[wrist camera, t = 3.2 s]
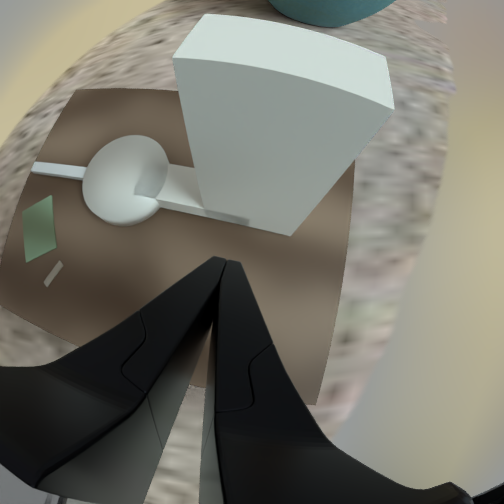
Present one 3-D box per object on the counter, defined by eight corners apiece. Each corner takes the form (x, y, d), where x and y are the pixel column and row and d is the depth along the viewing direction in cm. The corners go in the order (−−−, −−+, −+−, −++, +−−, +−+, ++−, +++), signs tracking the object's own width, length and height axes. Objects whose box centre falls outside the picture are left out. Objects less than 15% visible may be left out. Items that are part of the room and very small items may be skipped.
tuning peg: (285, 264, 14) (399, 172, 4) (23, 203, 13) (-77, 134, 3) (300, 177, 15) (379, 30, 5) (52, 138, 14) (-20, 48, 4)
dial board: (309, 398, 14) (316, 405, 13) (4, 301, 13) (-7, 300, 12) (349, 139, 17) (356, 129, 16) (81, 98, 17) (75, 89, 15)
